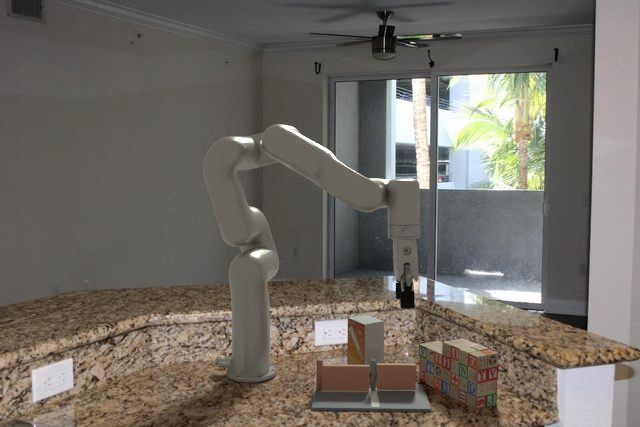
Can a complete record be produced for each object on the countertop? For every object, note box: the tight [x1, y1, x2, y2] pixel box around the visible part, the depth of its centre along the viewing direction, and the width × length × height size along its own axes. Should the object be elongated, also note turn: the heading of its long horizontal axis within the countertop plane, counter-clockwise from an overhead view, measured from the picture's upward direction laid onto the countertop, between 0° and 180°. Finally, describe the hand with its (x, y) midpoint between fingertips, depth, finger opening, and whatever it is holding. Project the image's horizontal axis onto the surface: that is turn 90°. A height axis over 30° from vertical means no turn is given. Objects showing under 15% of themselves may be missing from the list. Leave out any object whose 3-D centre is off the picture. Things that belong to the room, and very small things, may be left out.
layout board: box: [311, 382, 432, 412], centre depth 150 cm, size 26×15×1 cm, turn 89°
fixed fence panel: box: [315, 358, 370, 391], centre depth 152 cm, size 12×2×7 cm, turn 89°
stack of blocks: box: [418, 337, 500, 411], centre depth 153 cm, size 21×6×12 cm, turn 27°
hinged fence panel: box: [370, 359, 417, 391], centre depth 152 cm, size 10×1×7 cm, turn 89°
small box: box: [346, 314, 385, 374], centre depth 170 cm, size 8×6×13 cm
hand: (404, 303), depth 155 cm, fingers open, 9 cm apart
